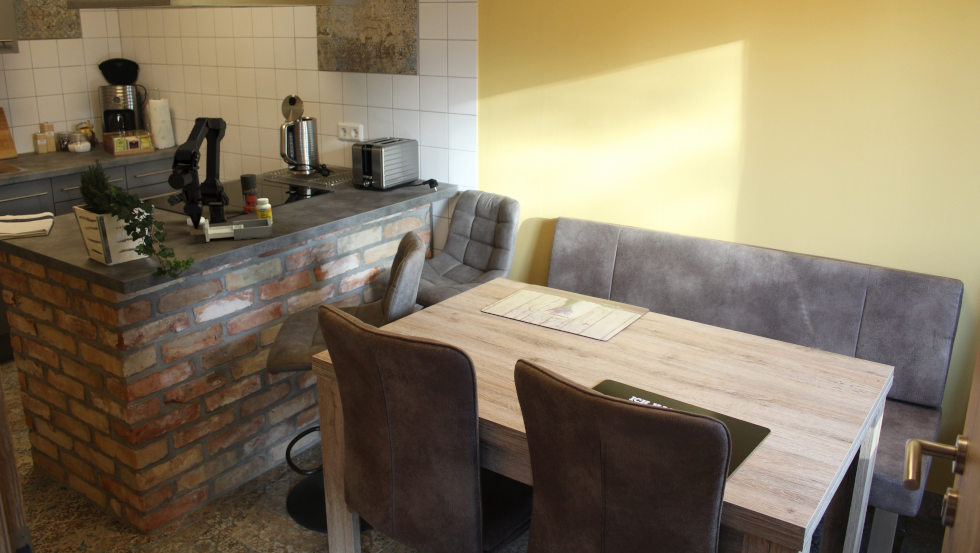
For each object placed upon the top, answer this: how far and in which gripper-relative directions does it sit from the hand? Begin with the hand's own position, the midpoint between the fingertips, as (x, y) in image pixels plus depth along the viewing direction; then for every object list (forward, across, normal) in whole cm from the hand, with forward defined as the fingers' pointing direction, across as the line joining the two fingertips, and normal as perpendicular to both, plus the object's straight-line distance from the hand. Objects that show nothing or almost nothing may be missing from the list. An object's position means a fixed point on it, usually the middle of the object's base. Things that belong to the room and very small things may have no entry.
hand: (196, 226), depth 263 cm
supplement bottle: (+3, -5, +24) cm, 25 cm away
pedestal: (+2, 0, 0) cm, 2 cm away
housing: (+2, +9, +19) cm, 21 cm away
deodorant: (+3, -26, +20) cm, 33 cm away
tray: (+2, +9, +9) cm, 13 cm away
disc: (-1, 0, 0) cm, 1 cm away
